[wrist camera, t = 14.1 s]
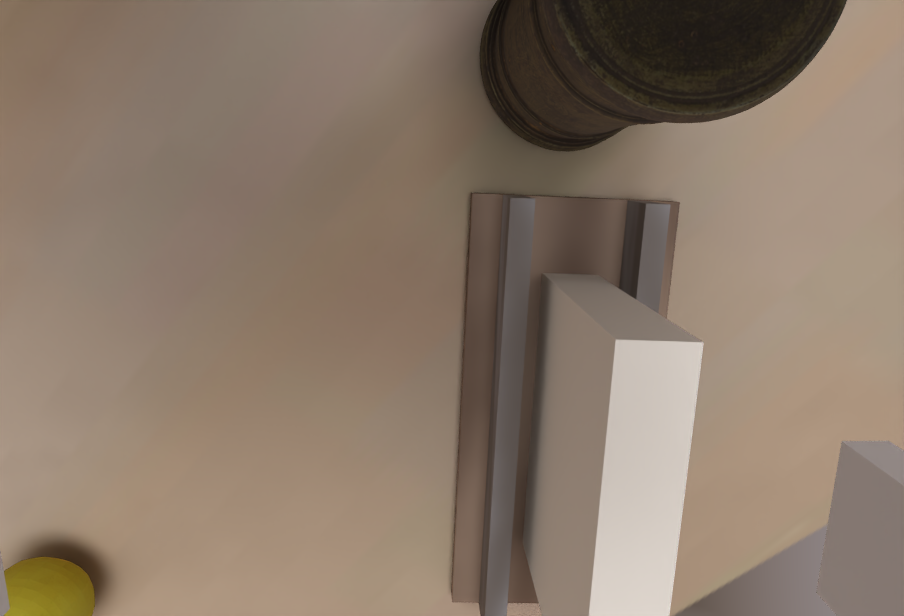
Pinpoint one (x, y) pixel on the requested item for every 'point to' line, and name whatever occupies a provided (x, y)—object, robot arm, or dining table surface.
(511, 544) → the track plinth
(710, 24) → the container
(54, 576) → the lemon
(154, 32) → the dining table surface
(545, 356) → the door panel
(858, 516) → the robot arm
